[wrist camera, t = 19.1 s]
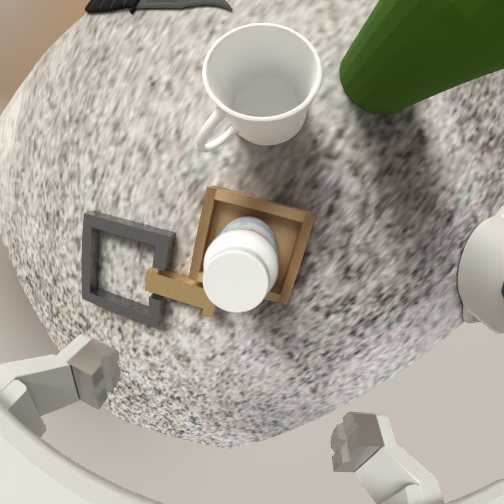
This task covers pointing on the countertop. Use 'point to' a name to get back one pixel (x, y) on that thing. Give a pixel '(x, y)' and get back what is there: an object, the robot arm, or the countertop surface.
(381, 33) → the wine bottle
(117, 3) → the knife
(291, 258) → the tray
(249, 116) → the mug
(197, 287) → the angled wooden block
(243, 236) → the pill bottle
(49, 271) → the countertop surface
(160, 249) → the socket
